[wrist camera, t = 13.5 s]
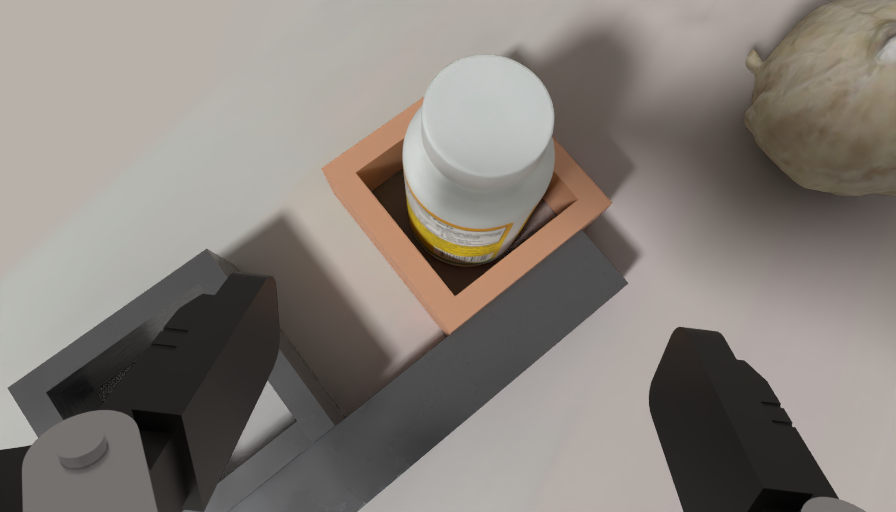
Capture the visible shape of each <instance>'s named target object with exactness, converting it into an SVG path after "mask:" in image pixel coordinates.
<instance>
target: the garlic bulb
mask: <svg viewBox="0 0 896 512" xmlns="http://www.w3.org/2000/svg"><path fill="white" fill-rule="evenodd" d="M746 67H747V68H748V69H749V70H750V71H751V72H752V73H753V74H755V78H756V80H755V86H754V91H753V95H752V101H753V104H752V105H751V106H750V107H749V108H748V109H747V110H746V111H745V118H744V124H745V126H746V128H747V129H749V130H750V131H751V133H752V134H753V135H754V141H755V143H756V144H757V145H758V146H759V147H760V148H761V149H762V150H763V151H764V152H765V154H766V155H767V156H768V157H769V158H770V159H771V160H772V161H773V162H774V163H775V164H776V165H777V166H778V167H779V168H780V169H781V170H782V171H783V172H784V173H786V174H787V175H788V176H789V177H790V178H791V179H792V180H793V181H794V182H795V183H797V184H798V185H800V186H802V187H804V188H806V189H812V190H818V191H822V192H830V193H832V194H833V195H836V196H843V195H844V196H863V195H868V194H873V193H877V194H884V195H891V196H896V0H835V1H832V2H830V3H827V4H825V5H823V6H820V7H818V8H816V9H815V10H813V11H812V12H811V13H809V14H808V15H806V16H805V17H804V18H803V19H802V20H801V21H800V22H799V23H798V24H797V25H796V26H795V27H794V28H793V29H792V30H791V31H790V32H789V33H788V34H787V35H786V36H785V37H784V39H783V40H782V41H781V42H780V43H779V45H778V46H777V47H776V48H775V49H774V50H773V52H772V53H771V54H770V55H769V56H768V57H767V59H766V61H762V60H761V59H760V57H759V55H758V53H757V52H756V51H755V50H752V51H751V52H750V53H749V55H748V57H747V58H746Z"/></svg>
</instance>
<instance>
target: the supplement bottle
mask: <svg viewBox="0 0 896 512" xmlns="http://www.w3.org/2000/svg"><path fill="white" fill-rule="evenodd" d="M553 129H554V107H553V103H552V100H551V97H550V95H549V93H548V91H547V89H546V87H545V86H544V84H543V83H542V81H541V80H540V79H539V78H538V77H537V76H536V75H535V74H534V73H533V72H532V71H531V70H530V69H528V68H527V67H526V66H524V65H522V64H520V63H519V62H517V61H515V60H512V59H510V58H507V57H504V56H498V55H490V54H482V55H473V56H469V57H465V58H462V59H459V60H457V61H455V62H453V63H451V64H450V65H448V66H447V67H445V68H444V69H443V70H442V71H441V72H440V73H439V74H438V75H437V76H436V77H435V78H434V80H433V81H432V82H431V84H430V85H429V87H428V89H427V91H426V94H425V97H424V100H423V105H422V106H421V107H420V108H419V109H418V111H417V112H416V113H415V115H414V117H413V118H412V120H411V122H410V124H409V126H408V128H407V131H406V134H405V138H404V143H403V170H404V179H405V189H406V198H407V209H408V217H409V223H410V227H411V230H412V232H413V234H414V236H415V238H416V239H417V241H418V242H419V244H420V245H421V246H422V247H423V248H424V249H425V250H426V251H427V252H428V253H429V254H431V255H432V256H433V257H435V258H437V259H438V260H440V261H442V262H445V263H448V264H451V265H455V266H462V267H471V266H478V265H482V264H485V263H488V262H491V261H493V260H495V259H496V258H498V257H499V256H501V255H502V254H503V253H505V252H506V251H507V250H508V249H509V247H510V246H511V245H512V244H513V242H514V241H515V240H516V238H517V236H518V235H519V233H520V232H521V230H522V228H523V227H524V225H525V223H526V222H527V220H528V219H529V217H530V215H531V214H532V212H533V211H534V209H535V208H536V206H537V205H538V203H539V202H540V200H541V199H542V197H543V195H544V194H545V192H546V190H547V188H548V186H549V183H550V181H551V178H552V175H553V170H554V163H555V149H554V142H553V138H552V134H553Z"/></svg>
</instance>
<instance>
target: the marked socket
mask: <svg viewBox="0 0 896 512" xmlns="http://www.w3.org/2000/svg"><path fill="white" fill-rule="evenodd" d="M424 97H425V96H424ZM424 97H423V98H422V99H420V100H419V101H417V102H416V103H414V104H413V105H412V106H410V107H409V108H407V109H406V110H404V111H403V112H402V113H400V114H399V115H397V116H396V117H394V118H393V119H392V120H390V121H389V122H387V123H386V124H384V125H383V126H382V127H380V128H379V129H377V130H376V131H374V132H373V133H372V134H370V135H369V136H367V137H366V138H364V139H363V140H362V141H360V142H359V143H357V144H356V145H354V146H353V147H352V148H350V149H349V150H347V151H346V152H344V153H343V154H341V155H340V156H339V157H337V158H336V159H334V160H333V161H331V162H330V163H329V164H327V165H326V166H324V167H323V168H321V169H322V171H323V173H324V175H325V177H326V179H327V181H328V183H329V184H330V186H331V188H332V190H333V192H334V194H335V195H336V196H337V198H338V199H339V200H340V202H341V203H342V204H343V205H344V207H345V208H346V209H347V210H348V212H349V213H350V214H351V215H352V217H353V218H354V219H355V221H356V222H357V223H358V224H359V226H360V227H361V228H362V229H363V231H364V232H365V233H366V234H367V236H368V237H369V238H370V240H371V241H372V242H373V243H374V245H375V246H376V247H377V248H378V250H379V251H380V252H381V254H382V255H383V256H384V257H385V259H386V260H387V261H388V262H389V264H390V265H391V266H392V267H393V269H394V270H395V271H396V273H397V274H398V275H399V276H400V278H401V279H402V280H403V281H404V283H405V284H406V285H407V286H408V288H409V289H410V290H411V292H412V293H413V294H414V295H415V297H416V298H417V299H418V300H419V302H420V303H421V304H422V305H423V307H424V308H425V309H426V311H427V312H428V313H429V314H430V316H431V317H432V318H433V319H434V321H435V322H436V323H437V324H438V326H439V327H440V328H441V330H442V331H443V332H444V333H445V335H446V336H447V337H448V336H449V335H450V334H451V333H453V332H454V331H455V330H456V329H458V328H459V327H460V326H461V325H463V324H464V323H465V322H466V321H468V320H469V319H470V318H471V317H473V316H474V315H475V314H476V313H477V312H479V311H480V310H481V309H482V308H484V307H485V306H486V305H487V304H489V303H490V302H491V301H492V300H494V299H495V298H496V297H497V296H499V295H500V294H501V293H502V292H504V291H505V290H506V289H507V288H509V287H510V286H511V285H512V284H514V283H515V282H516V281H517V280H519V279H520V278H521V277H522V276H524V275H525V274H526V273H527V272H529V271H530V270H531V269H532V268H534V267H535V266H536V265H537V264H539V263H540V262H541V261H542V260H544V259H545V258H546V257H547V256H549V255H550V254H551V253H552V252H554V251H555V250H556V249H557V248H559V247H560V246H561V245H562V244H564V243H565V242H566V241H567V240H569V239H570V238H571V237H572V236H574V235H575V234H576V233H577V232H579V231H580V230H581V229H582V231H583V230H584V229H585V228H586V227H588V226H589V225H590V224H591V223H592V222H593V221H594V220H595V219H596V218H597V217H598V216H600V215H601V214H602V213H603V212H604V211H605V210H606V209H607V208H608V207H609V206H610V205H611V204H612V202H611V201H610V200H609V199H608V198H607V196H606V195H605V194H604V193H603V192H602V191H601V190H600V189H599V188H598V186H597V185H596V184H595V183H594V182H593V181H592V180H591V179H590V177H589V176H588V175H587V174H586V173H585V172H584V171H583V170H582V168H581V167H580V166H579V165H578V164H577V163H576V162H575V161H574V160H573V158H572V157H571V156H570V155H569V154H568V153H567V152H566V151H565V149H564V148H563V147H562V146H561V145H560V144H559V143H558V142H557V141H556V139H555V138H554V137H553V136H552V138H553V142H554V149H555V163H554V170H553V175H552V178H551V181H550V183H549V186H548V188H547V190H546V192H545V194H544V195H543V197H542V198H543V200H544V201H545V202H546V203H547V204H548V205H549V206H550V208H551V209H552V210H553V211H554V212H555V213H556V215H557V217H555V218H554V219H553V220H552V221H550V222H549V223H548V224H546V225H545V226H544V227H543V228H541V229H540V230H539V231H538V232H536V233H535V234H534V235H533V236H531V237H530V238H529V239H527V240H526V241H525V242H524V243H522V244H521V245H520V246H519V247H517V248H516V249H515V250H513V251H512V252H511V253H510V254H508V255H507V256H506V257H505V258H503V259H502V260H501V261H500V262H498V263H497V264H496V265H494V266H493V267H492V268H491V269H489V270H488V271H487V272H486V273H484V274H483V275H482V276H480V277H479V278H478V279H477V280H475V281H474V282H473V283H472V284H470V285H469V286H468V287H467V288H465V289H464V290H463V291H461V292H460V293H459V294H458V295H456V296H454V295H453V293H452V292H451V291H450V290H449V288H448V287H447V286H446V285H445V283H444V282H443V281H442V280H441V278H440V277H439V276H438V275H437V273H436V272H435V271H434V270H433V268H432V267H431V266H430V265H429V264H428V262H427V261H426V260H425V259H424V257H423V256H422V255H421V254H420V252H419V251H418V250H417V249H416V247H415V246H414V245H413V244H412V242H411V241H410V240H409V239H408V237H407V236H406V235H405V234H404V232H403V231H402V230H401V229H400V227H399V226H398V225H397V224H396V222H395V221H394V220H393V219H392V217H391V216H390V215H389V214H388V212H387V211H386V210H385V209H384V208H383V206H382V205H381V204H380V203H379V201H378V200H377V199H376V198H375V196H374V195H373V194H372V193H371V191H372V190H374V189H375V188H377V187H378V186H379V185H381V184H382V183H384V182H385V181H386V180H388V179H389V178H391V177H392V176H393V175H395V174H396V173H397V172H399V171H400V170H402V169H403V143H404V138H405V134H406V131H407V128H408V126H409V124H410V122H411V120H412V118H413V117H414V115H415V113H416V112H417V111H418V109H419V108H420V107H421V106H422V105H423V100H424Z"/></svg>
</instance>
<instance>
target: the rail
mask: <svg viewBox="0 0 896 512" xmlns="http://www.w3.org/2000/svg"><path fill="white" fill-rule="evenodd" d="M233 272H239V271H238V270H237V269H236V267H235V266H234V265H233V264H232V263H230V262H228V261H227V260H225V259H223V258H222V257H220V256H218V255H217V254H215V253H213V252H211V251H210V250H208V249H206V250H204V251H203V252H201V253H200V254H199V255H197V256H196V257H194V258H193V259H191V260H190V261H189V262H187V263H186V264H184V265H183V266H181V267H180V268H179V269H177V270H176V271H174V272H173V273H171V274H170V275H168V276H167V277H166V278H164V279H163V280H161V281H160V282H158V283H157V284H156V285H154V286H153V287H151V288H150V289H148V290H147V291H146V292H144V293H143V294H141V295H140V296H138V297H137V298H136V299H134V300H133V301H131V302H130V303H128V304H127V305H126V306H124V307H123V308H121V309H120V310H118V311H117V312H116V313H114V314H113V315H111V316H110V317H108V318H107V319H106V320H104V321H103V322H101V323H100V324H98V325H97V326H96V327H94V328H93V329H91V330H90V331H88V332H87V333H86V334H84V335H83V336H81V337H80V338H78V339H77V340H76V341H74V342H73V343H71V344H70V345H68V346H67V347H66V348H64V349H63V350H61V351H60V352H58V353H57V354H56V355H54V356H53V357H51V358H50V359H48V360H47V361H46V362H44V363H43V364H41V365H40V366H38V367H37V368H36V369H34V370H33V371H31V372H30V373H28V374H27V375H26V376H24V377H23V378H21V379H20V380H18V381H17V382H16V383H14V384H13V385H11V386H10V387H8V389H9V391H10V393H11V394H12V396H13V398H14V399H15V401H16V402H17V404H18V406H19V407H20V409H21V411H22V412H23V414H24V415H25V417H26V419H27V420H28V422H29V424H30V425H31V427H32V428H33V430H34V432H35V433H36V435H37V436H38V438H39V437H40V436H41V435H42V434H43V433H45V432H46V431H47V430H49V429H50V428H51V427H53V426H55V425H56V424H58V423H60V422H62V421H64V420H66V419H68V418H70V417H73V416H76V415H78V414H82V413H86V412H90V411H96V410H97V409H98V408H99V407H100V406H101V405H102V401H101V399H100V398H99V396H98V395H97V393H96V392H95V390H97V389H98V388H100V387H101V386H102V385H104V384H105V383H106V382H108V381H109V380H111V379H112V378H113V377H115V376H116V375H118V374H119V373H120V372H122V371H123V370H125V369H126V368H127V367H129V366H130V365H131V364H133V363H134V362H136V361H137V360H138V359H139V357H140V356H141V355H142V354H143V352H144V351H145V350H146V349H147V347H149V348H150V346H151V342H152V341H153V340H154V339H155V337H156V336H157V335H158V334H159V332H160V331H163V329H164V328H163V327H164V326H165V325H166V324H167V322H168V321H169V320H170V319H171V317H172V316H173V315H174V314H175V312H176V311H177V310H178V309H179V308H180V307H182V306H183V305H185V304H187V303H188V302H190V301H191V300H193V299H194V298H196V297H198V296H199V295H201V294H211V295H215V294H216V293H217V291H218V290H219V289H220V287H221V286H222V285H223V283H224V282H225V281H226V279H227V278H228V277H229V275H230V274H231V273H233ZM627 284H628V282H627V281H626V280H625V279H624V278H623V276H622V275H621V274H620V273H619V272H618V271H617V270H616V268H615V267H614V266H613V265H612V264H611V263H610V261H609V260H608V259H607V258H606V257H605V256H604V255H603V253H602V252H601V251H600V250H599V249H598V248H597V247H596V245H595V244H594V243H593V242H592V241H591V240H590V239H589V237H588V236H587V235H586V234H585V233H584V232H583V231H582V229H581V230H580V231H579V232H577V233H576V234H575V235H574V236H572V237H571V238H570V239H569V240H567V241H566V242H565V243H564V244H562V245H561V246H560V247H559V248H557V249H556V250H555V251H554V252H552V253H551V254H550V255H549V256H547V257H546V258H545V259H544V260H542V261H541V262H540V263H539V264H537V265H536V266H535V267H534V268H532V269H531V270H530V271H529V272H527V273H526V274H525V275H524V276H522V277H521V278H520V279H519V280H517V281H516V282H515V283H514V284H512V285H511V286H510V287H509V288H507V289H506V290H505V291H504V292H502V293H501V294H500V295H499V296H497V297H496V298H495V299H494V300H492V301H491V302H490V303H489V304H487V305H486V306H485V307H484V308H482V309H481V310H480V311H479V312H477V313H476V314H475V315H474V316H473V317H471V318H470V319H469V320H468V321H466V322H465V323H464V324H463V325H461V326H460V327H459V328H458V329H456V330H455V331H454V332H453V333H451V334H450V335H449V336H448V337H446V338H445V339H444V340H443V341H441V342H440V343H439V344H438V345H436V346H435V347H434V348H433V349H431V350H430V351H429V352H428V353H426V354H425V355H424V356H423V357H421V358H420V359H419V360H418V361H416V362H415V363H414V364H413V365H411V366H410V367H409V368H408V369H406V370H405V371H404V372H403V373H401V374H400V375H399V376H398V377H396V378H395V379H394V380H393V381H391V382H390V383H389V384H388V385H386V386H385V387H384V388H383V389H381V390H380V391H379V392H378V393H376V394H375V395H374V396H373V397H371V398H370V399H369V400H368V401H366V402H365V403H364V404H363V405H362V406H360V407H359V408H358V409H357V410H355V411H354V412H353V413H352V414H350V415H349V416H348V417H347V418H345V417H344V415H343V414H342V412H341V411H340V410H339V408H338V407H337V406H336V404H335V403H334V402H333V400H332V399H331V397H330V396H329V395H328V393H327V392H326V391H325V389H324V388H323V386H322V385H321V384H320V382H319V381H318V380H317V378H316V377H315V375H314V374H313V373H312V371H311V370H310V369H309V367H308V366H307V365H306V363H305V362H304V360H303V359H302V358H301V356H300V355H299V354H298V352H297V351H296V349H295V348H294V347H293V345H292V344H291V343H290V341H289V340H288V339H287V337H286V336H285V334H284V333H283V332H282V330H281V329H280V328H279V329H280V345H279V352H278V356H277V360H276V363H275V365H274V368H273V370H272V372H271V374H270V376H269V378H268V381H269V383H270V384H271V385H272V387H273V388H274V390H275V391H276V392H277V394H278V395H279V397H280V398H281V399H282V401H283V402H284V404H285V405H286V406H287V408H288V409H289V411H290V412H291V413H292V415H293V416H294V418H295V419H296V420H297V422H295V423H294V424H293V425H291V426H290V427H289V428H288V429H286V430H285V431H284V432H283V433H281V434H280V435H279V436H277V437H276V438H275V439H274V440H272V441H271V442H270V443H269V444H267V445H266V446H265V447H264V448H262V449H261V450H260V451H258V452H257V453H256V454H255V455H253V456H252V457H251V458H250V459H248V460H247V461H246V462H245V463H243V464H242V465H241V466H239V467H238V468H237V469H236V470H234V471H233V472H232V473H231V474H229V475H228V476H227V477H225V478H224V479H223V480H222V481H220V482H219V483H218V484H217V486H216V488H215V490H214V492H213V494H212V496H211V498H210V501H209V503H208V505H207V507H206V509H205V511H204V512H357V511H358V510H360V509H361V508H362V507H363V506H364V505H366V504H367V503H368V502H369V501H370V500H371V499H373V498H374V497H375V496H376V495H377V494H379V493H380V492H381V491H382V490H383V489H385V488H386V487H387V486H388V485H389V484H391V483H392V482H393V481H394V480H395V479H396V478H398V477H399V476H400V475H401V474H402V473H404V472H405V471H406V470H407V469H408V468H410V467H411V466H412V465H413V464H414V463H415V462H417V461H418V460H419V459H420V458H421V457H423V456H424V455H425V454H426V453H427V452H429V451H430V450H431V449H432V448H433V447H434V446H436V445H437V444H438V443H439V442H440V441H442V440H443V439H444V438H445V437H446V436H448V435H449V434H450V433H451V432H452V431H453V430H455V429H456V428H457V427H458V426H459V425H461V424H462V423H463V422H464V421H465V420H467V419H468V418H469V417H470V416H471V415H473V414H474V413H475V412H476V411H477V410H478V409H480V408H481V407H482V406H483V405H484V404H486V403H487V402H488V401H489V400H490V399H492V398H493V397H494V396H495V395H496V394H497V393H499V392H500V391H501V390H502V389H503V388H505V387H506V386H507V385H508V384H509V383H511V382H512V381H513V380H514V379H515V378H516V377H518V376H519V375H520V374H521V373H522V372H524V371H525V370H526V369H527V368H528V367H530V366H531V365H532V364H533V363H534V362H536V361H537V360H538V359H539V358H540V357H541V356H543V355H544V354H545V353H546V352H547V351H549V350H550V349H551V348H552V347H553V346H555V345H556V344H557V343H558V342H559V341H560V340H562V339H563V338H564V337H565V336H566V335H568V334H569V333H570V332H571V331H572V330H574V329H575V328H576V327H577V326H578V325H579V324H581V323H582V322H583V321H584V320H585V319H587V318H588V317H589V316H590V315H591V314H593V313H594V312H595V311H596V310H597V309H598V308H600V307H601V306H602V305H603V304H604V303H606V302H607V301H608V300H609V299H610V298H612V297H613V296H614V295H615V294H616V293H618V292H619V291H620V290H621V289H622V288H623V287H625V286H626V285H627ZM182 512H199V511H190V510H184V511H182Z"/></svg>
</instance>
